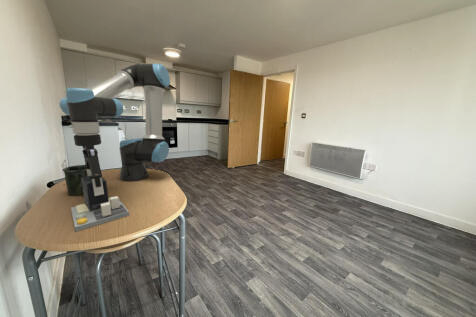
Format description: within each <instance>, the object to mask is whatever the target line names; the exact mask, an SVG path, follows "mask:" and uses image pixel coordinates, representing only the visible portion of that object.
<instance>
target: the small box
mask: <svg viewBox="0 0 476 317" xmlns="http://www.w3.org/2000/svg"><path fill="white" fill-rule="evenodd" d="M90 177H92V176H87V177H81V180H82V186H83V194H84V195H83V201H84V204H86V206H87V207H88V209H89V211H91V210H94V209H98V208H101V205H100V204H103V203H107V202H109V200H108V198H109V193H108V183H107V182H108V181H107V180H106V179H105V178H104V177H103V176H102V183H103V190H104V194H102V195H98V196H95V195H94V189H93V183H92V179H90Z"/></svg>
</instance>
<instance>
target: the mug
mask: <svg viewBox="0 0 476 317" xmlns="http://www.w3.org/2000/svg"><path fill="white" fill-rule="evenodd" d="M62 172H64V178H65V183H66V184H65V185H66V190H67V193H68V195H69V196H74V197H75V196H76V197H77V196H84V194H83V186H82V180H81V177H87V176H88V175H87V168H86V166H85V164H79V165H78V164H77V165H72V166H67V167H64V168H63V169H62Z"/></svg>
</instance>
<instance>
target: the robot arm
mask: <svg viewBox="0 0 476 317" xmlns="http://www.w3.org/2000/svg"><path fill="white" fill-rule="evenodd" d="M170 84H171V78H170V74H169V71H168V69H167V68H166V67H165V65H163V64H161V63H155V62H154V63H136V64H131V65H128V66H127V67H125V68H121V70H118V71H117V72H116V73H115V75H114V76H112V77H110V78H108V79H106V80H104V81H102V82H101V83H99V84H97V85H95V86H93V87H91V88H80V87H68V88H66V90H65V97H63V98H62V99H60V101H59V108H60V110H61V111H62V112H63V113H64V114H65V115H67V116H69V118H70V123H71V124H70V125H69V126H68V127H69V128H72V134H74V135H73V140H74V145H75V146H77V147H82V155H83V158H84V165H85V166H86V168H87V175H88V176H92V177H90V179H92V183H93V189H94V195H95V196H98V195H102V194H104V190H103V183H102V177H103V174H102V169H101V164H100V159H99V155H98V149H96V148H95V146H98V145H101V144H102V140H101V138H102V137H101V134H99V133H101V130H100V124H99V118H119V117H120V116H122V114H124V105H123V103H122V102H121V101H120V100H119V99H117V98H115V97H117V96H118V95H120V94H121V93H123V92H125V91H126V90H131V89H133V88H137V87H139V88H140V87H141V88H142V89H143V90H144V91H145V128H144V129H145V135H144V136H143V137H141V138H140V137H139V138H130V139H122V140H120V141H119V154H120V155H119V156H120V163H121V167H120V172H119V175H118V176H119V181H123V182H133V181H134V182H136V181H140V180H141V181H142V180H144V179H148V177H149V172H148V170H147V168H146V165H145V162H153V163H162V162H164V161H165V160H166V159H167V158H168V155H169V151H170V146H169V144H168V142H166V141H165V138H164V137H163V96H164V95H163V94H164V93H165V92H166V88H168V87H169V86H170Z"/></svg>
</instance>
